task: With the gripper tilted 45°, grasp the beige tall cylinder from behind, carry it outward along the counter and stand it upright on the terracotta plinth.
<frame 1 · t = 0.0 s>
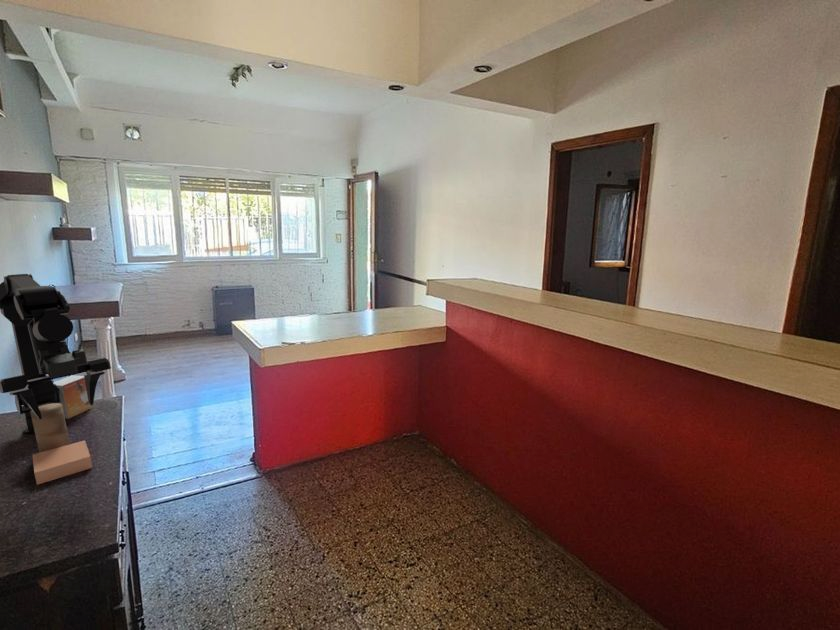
hand: (66, 411, 98), 15 cm above the table, tool pointing down, fingers open, 9 cm apart
small box: (73, 413, 132), on the table
beige tall cylinder: (55, 452, 110), on the table
terracotta plinth: (63, 466, 104), on the table
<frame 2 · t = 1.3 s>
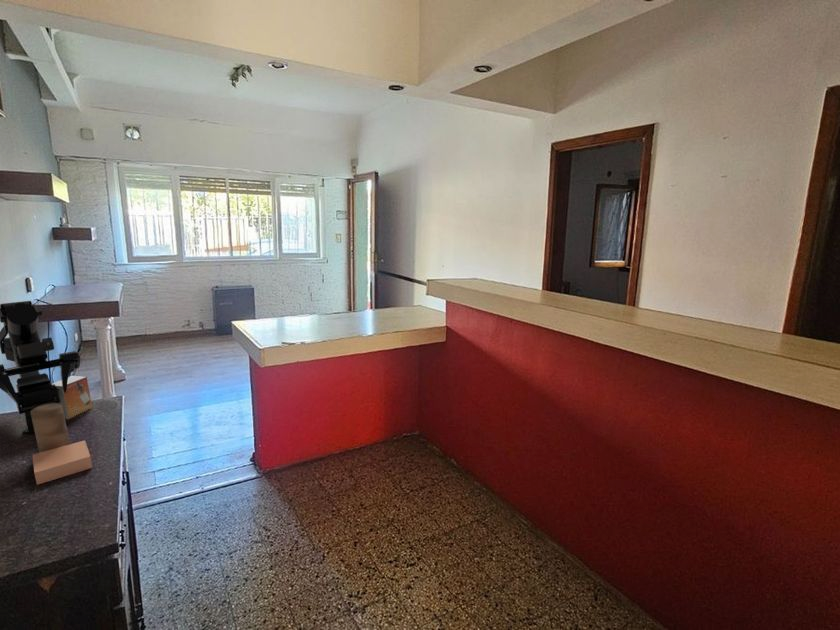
hand: (42, 397, 110), 13 cm above the table, tool tilted 40°, fingers open, 9 cm apart
small box: (73, 413, 132), on the table, touching arm
everything else where it was.
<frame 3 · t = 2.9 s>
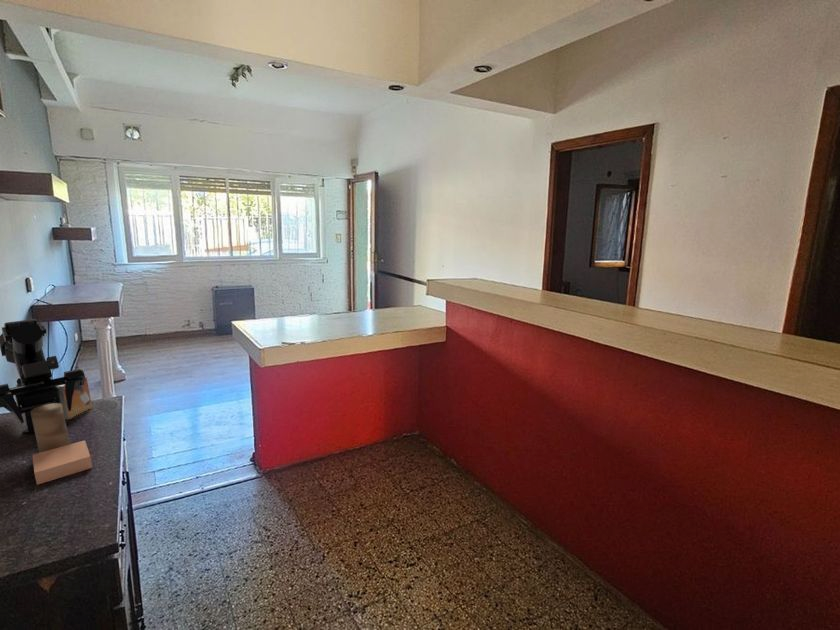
hand: (47, 416, 109), 9 cm above the table, tool tilted 40°, fingers open, 9 cm apart
nothing on the table moved.
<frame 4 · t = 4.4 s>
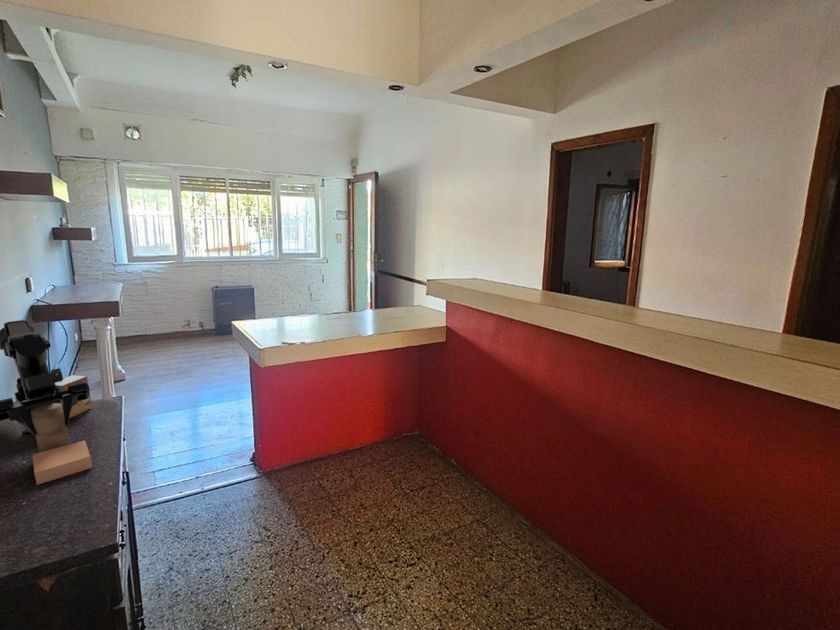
hand: (51, 430, 107), 7 cm above the table, tool tilted 45°, fingers closed on beige tall cylinder, 6 cm apart
small box: (73, 413, 132), on the table
beige tall cylinder: (55, 452, 110), on the table, touching gripper
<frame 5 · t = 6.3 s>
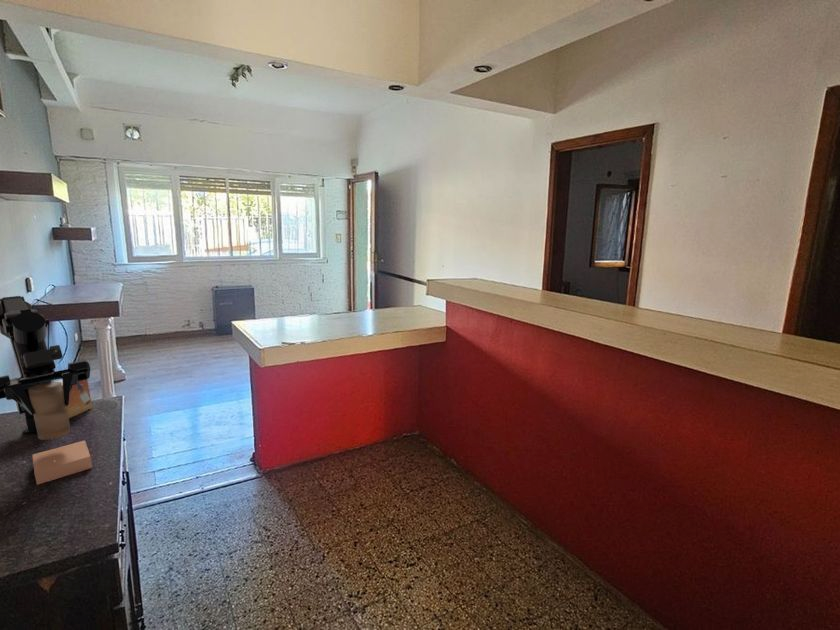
hand: (50, 409, 102), 14 cm above the table, tool tilted 45°, fingers closed on beige tall cylinder, 6 cm apart
beige tall cylinder: (54, 433, 104), point 7 cm above the table, touching gripper
everything else where it was.
when the fingers open (10 cm above the table, at t = 8.2 s): beige tall cylinder stays where it is, resting on terracotta plinth.
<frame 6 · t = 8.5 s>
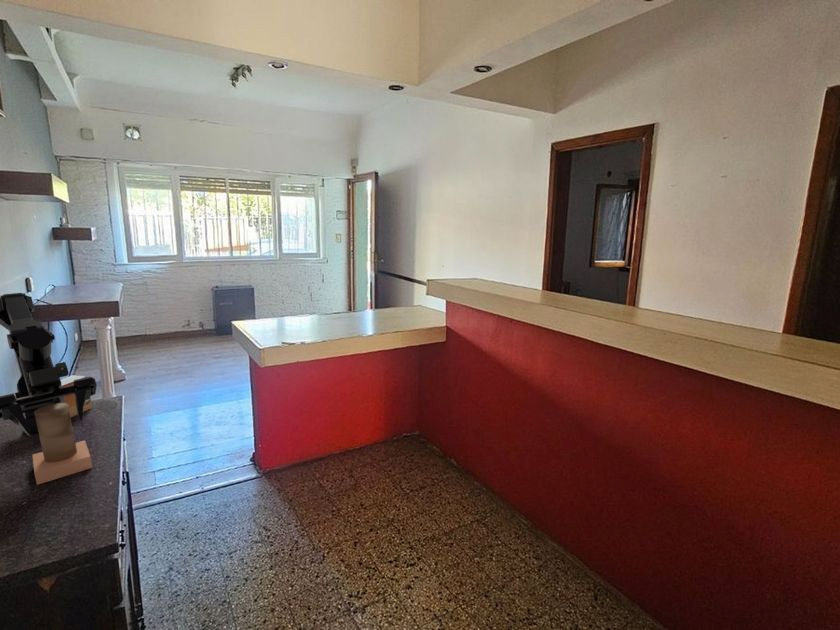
hand: (56, 428, 100), 11 cm above the table, tool tilted 45°, fingers open, 9 cm apart
beige tall cylinder: (61, 455, 103), point 3 cm above the table, touching terracotta plinth
everything else where it was.
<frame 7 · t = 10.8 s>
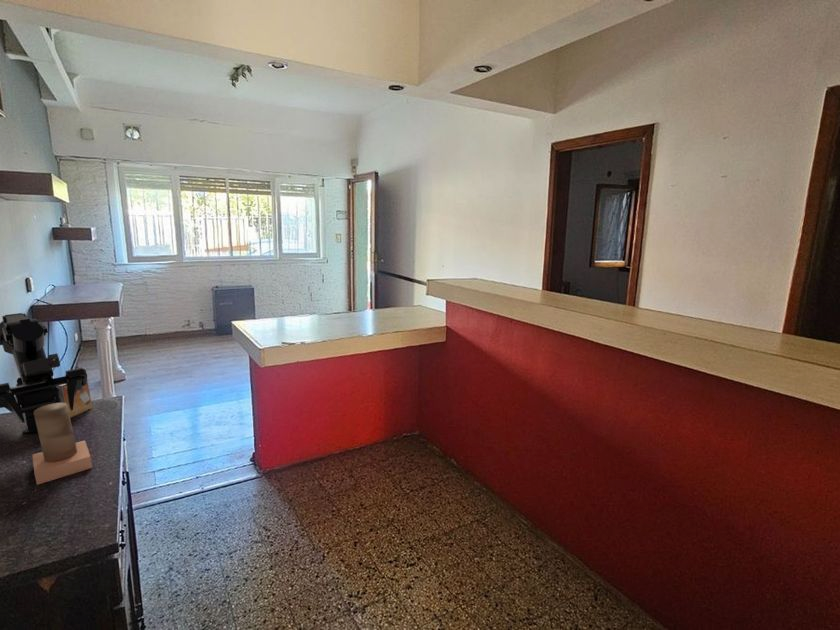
hand: (48, 415, 106), 11 cm above the table, tool tilted 45°, fingers open, 9 cm apart
nothing on the table moved.
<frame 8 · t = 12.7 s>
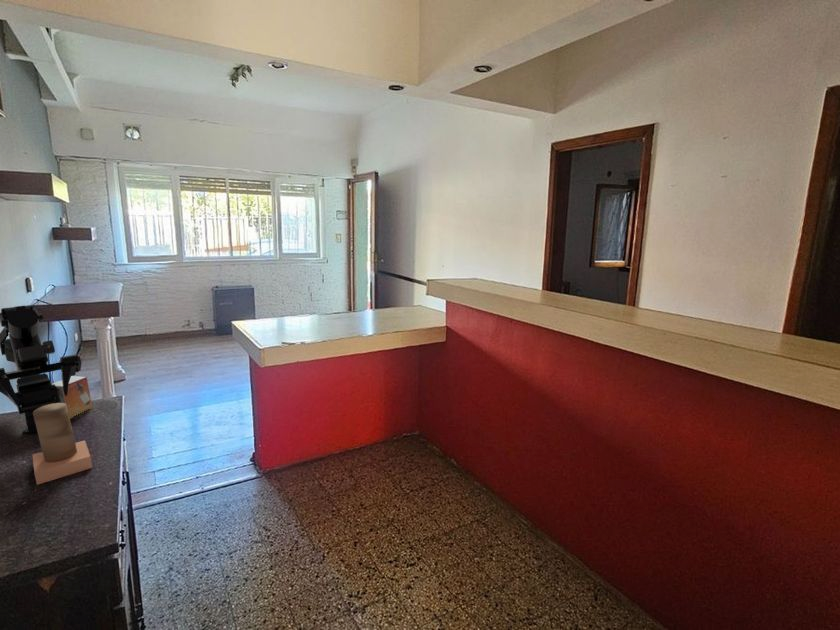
hand: (43, 400, 109), 13 cm above the table, tool tilted 40°, fingers open, 9 cm apart
small box: (73, 414, 132), on the table, touching arm
everything else where it was.
at the end: beige tall cylinder 0.1 cm off-centre on the terracotta plinth, point 3.1 cm above the terracotta plinth's base; beige tall cylinder tilted 1°; beige tall cylinder touching terracotta plinth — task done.
